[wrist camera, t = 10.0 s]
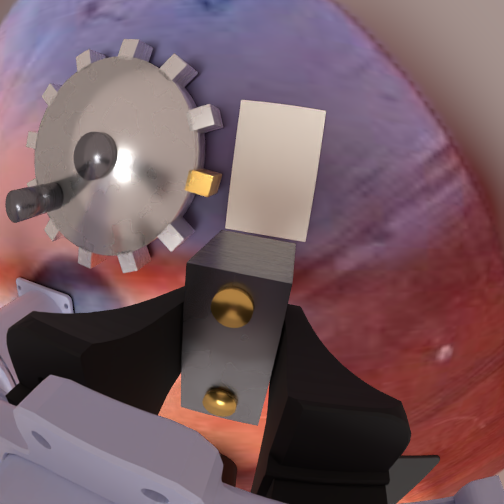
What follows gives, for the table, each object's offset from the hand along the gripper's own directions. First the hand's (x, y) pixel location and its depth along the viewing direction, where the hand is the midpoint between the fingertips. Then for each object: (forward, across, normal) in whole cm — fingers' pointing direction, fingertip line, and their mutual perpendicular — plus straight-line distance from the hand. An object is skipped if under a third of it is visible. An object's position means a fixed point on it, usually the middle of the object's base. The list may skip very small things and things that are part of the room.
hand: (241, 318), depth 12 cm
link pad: (+8, 0, -5) cm, 10 cm away
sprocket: (+8, +11, -5) cm, 15 cm away
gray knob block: (+2, 0, 0) cm, 2 cm away
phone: (+9, -19, +27) cm, 34 cm away
